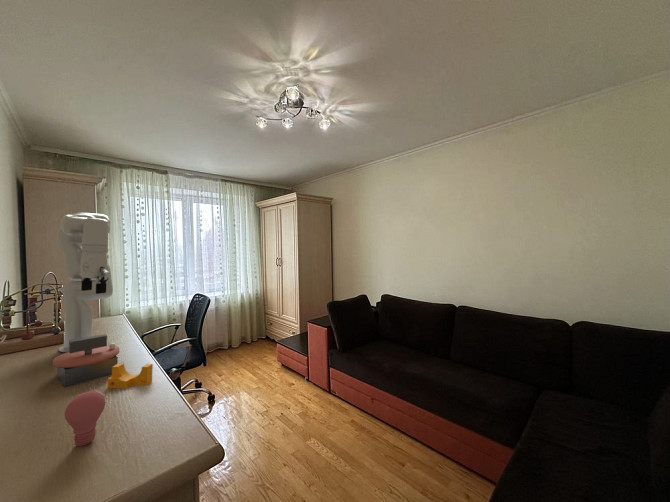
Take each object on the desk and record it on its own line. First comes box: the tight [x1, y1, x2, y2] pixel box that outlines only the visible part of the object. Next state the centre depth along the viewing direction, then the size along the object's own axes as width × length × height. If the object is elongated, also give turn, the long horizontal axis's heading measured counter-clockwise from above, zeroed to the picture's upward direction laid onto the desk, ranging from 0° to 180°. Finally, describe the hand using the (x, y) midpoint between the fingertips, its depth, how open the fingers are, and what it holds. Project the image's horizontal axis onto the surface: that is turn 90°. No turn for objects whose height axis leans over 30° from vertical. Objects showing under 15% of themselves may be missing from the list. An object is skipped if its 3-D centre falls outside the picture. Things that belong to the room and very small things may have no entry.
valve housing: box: [56, 355, 119, 389], centre depth 97 cm, size 14×14×6 cm
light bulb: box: [64, 390, 106, 446], centre depth 63 cm, size 7×7×12 cm
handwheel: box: [52, 333, 120, 368], centre depth 97 cm, size 18×18×7 cm
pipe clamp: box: [107, 363, 154, 389], centre depth 90 cm, size 12×4×6 cm, turn 92°
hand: (93, 291), depth 104 cm, fingers open, 9 cm apart
